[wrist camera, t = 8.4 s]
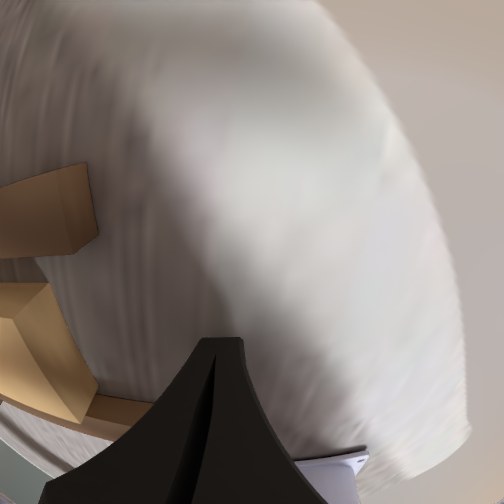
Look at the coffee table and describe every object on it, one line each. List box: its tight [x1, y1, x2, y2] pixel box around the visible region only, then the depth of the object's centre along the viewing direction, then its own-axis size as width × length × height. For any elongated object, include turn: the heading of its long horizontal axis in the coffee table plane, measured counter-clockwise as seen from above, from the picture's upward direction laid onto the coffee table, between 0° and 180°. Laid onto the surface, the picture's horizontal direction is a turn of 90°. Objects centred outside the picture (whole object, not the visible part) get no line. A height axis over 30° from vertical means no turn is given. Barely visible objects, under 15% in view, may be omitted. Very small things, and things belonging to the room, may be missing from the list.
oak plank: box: [0, 283, 99, 424], centre depth 9 cm, size 6×10×3 cm, turn 94°
